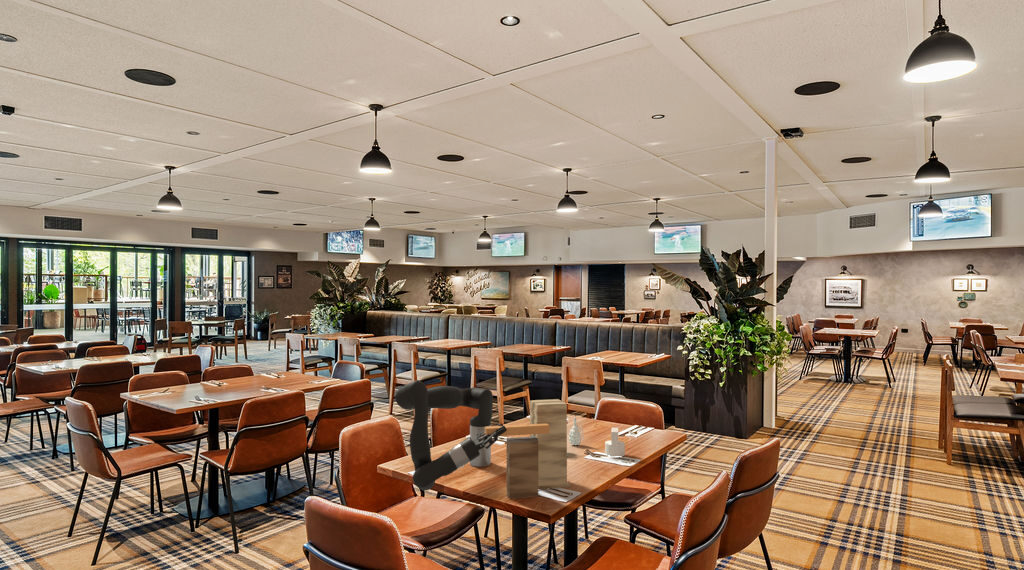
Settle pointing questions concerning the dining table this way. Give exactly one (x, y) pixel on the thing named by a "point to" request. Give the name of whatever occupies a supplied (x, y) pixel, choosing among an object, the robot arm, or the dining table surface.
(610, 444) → the cylinder with rectangular tab
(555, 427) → the stand
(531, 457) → the block
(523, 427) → the bar
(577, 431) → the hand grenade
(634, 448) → the dining table surface
